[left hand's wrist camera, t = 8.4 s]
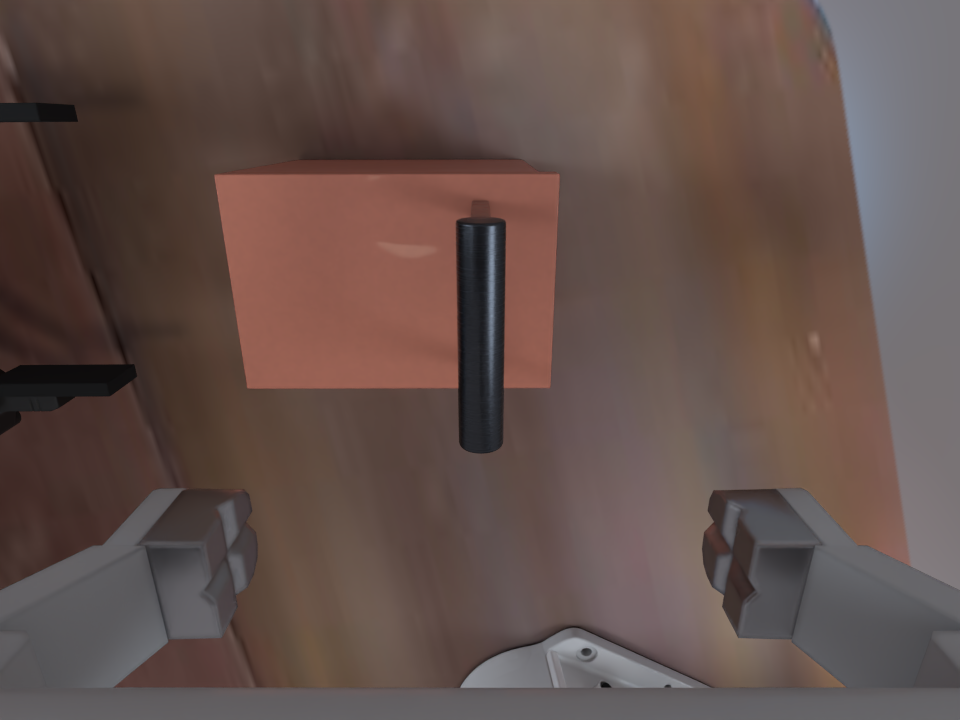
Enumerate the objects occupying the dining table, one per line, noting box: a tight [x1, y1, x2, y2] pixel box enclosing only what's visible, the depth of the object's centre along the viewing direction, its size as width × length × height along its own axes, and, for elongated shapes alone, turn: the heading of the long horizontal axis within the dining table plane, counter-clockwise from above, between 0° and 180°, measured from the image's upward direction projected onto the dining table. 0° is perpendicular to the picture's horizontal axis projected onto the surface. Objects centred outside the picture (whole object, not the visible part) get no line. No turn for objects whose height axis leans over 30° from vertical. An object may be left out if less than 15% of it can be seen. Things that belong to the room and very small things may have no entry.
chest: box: [232, 160, 538, 172], centre depth 32 cm, size 13×10×11 cm
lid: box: [215, 172, 560, 453], centre depth 23 cm, size 14×10×9 cm
